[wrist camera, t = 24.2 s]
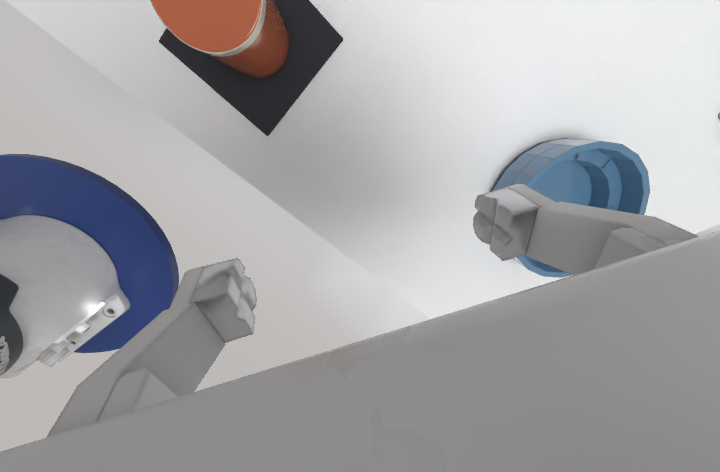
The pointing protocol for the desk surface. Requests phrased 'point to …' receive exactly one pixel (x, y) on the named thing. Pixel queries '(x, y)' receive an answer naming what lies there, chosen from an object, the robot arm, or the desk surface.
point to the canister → (230, 31)
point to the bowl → (580, 180)
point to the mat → (280, 90)
